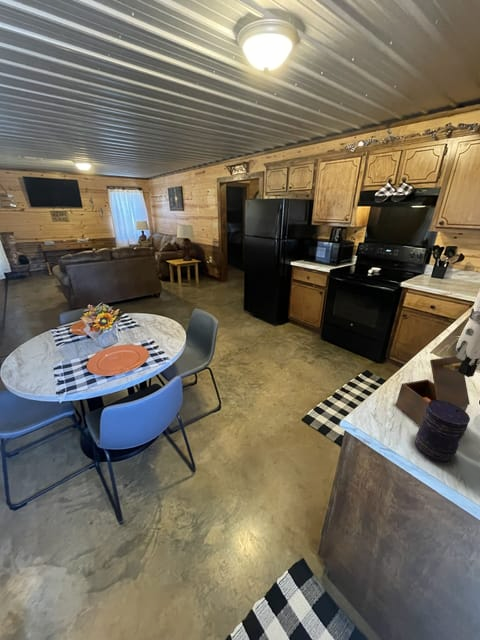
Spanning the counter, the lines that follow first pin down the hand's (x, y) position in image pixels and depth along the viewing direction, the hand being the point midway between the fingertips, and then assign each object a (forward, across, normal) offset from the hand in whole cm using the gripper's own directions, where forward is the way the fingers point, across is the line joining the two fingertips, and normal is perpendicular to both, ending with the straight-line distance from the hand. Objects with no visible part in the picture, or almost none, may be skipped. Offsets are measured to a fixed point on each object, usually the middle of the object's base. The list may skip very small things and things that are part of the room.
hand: (465, 374), depth 78 cm
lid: (+5, 0, +3) cm, 6 cm away
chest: (+22, 0, +7) cm, 23 cm away
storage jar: (+22, -10, -5) cm, 25 cm away
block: (+22, 0, +8) cm, 23 cm away
